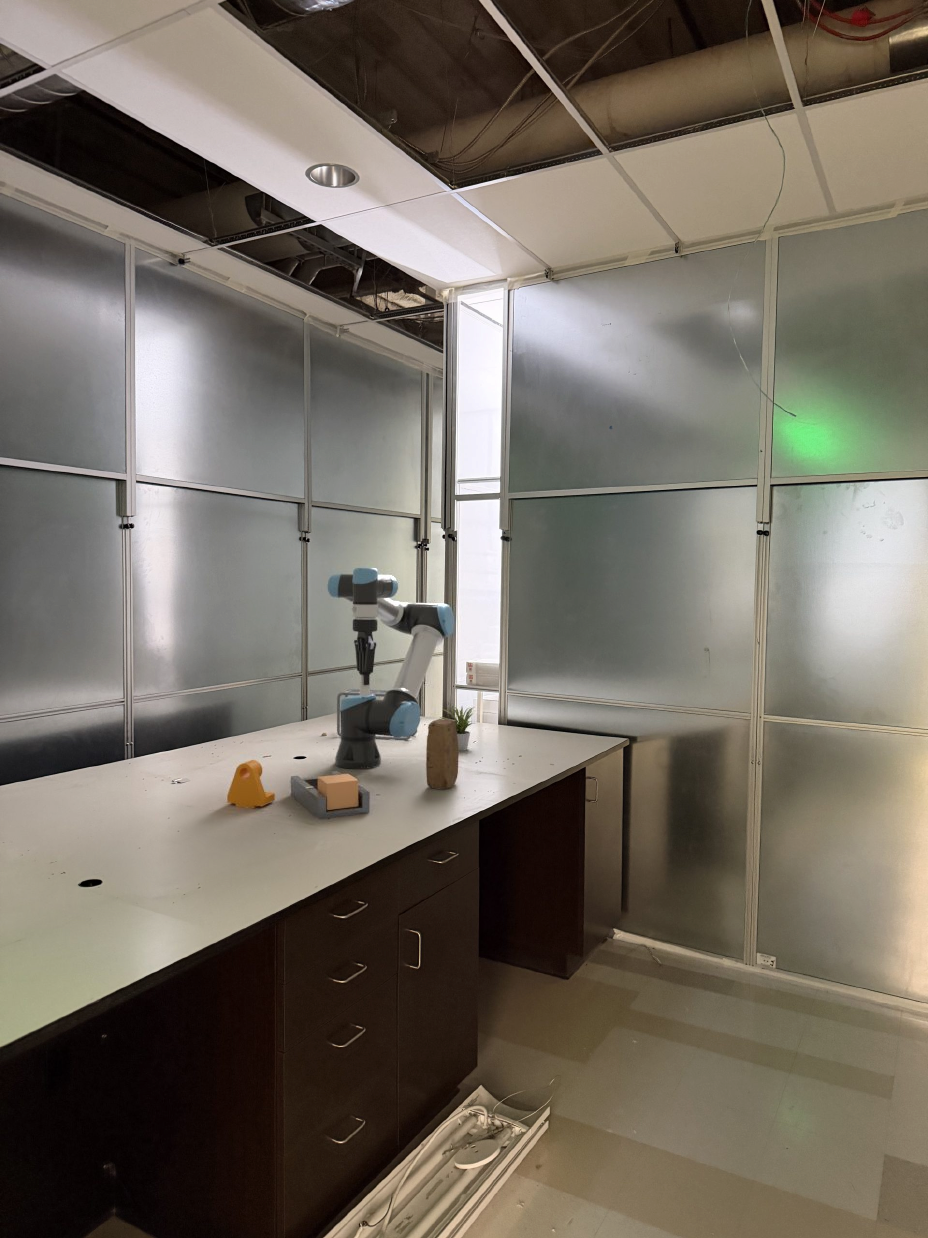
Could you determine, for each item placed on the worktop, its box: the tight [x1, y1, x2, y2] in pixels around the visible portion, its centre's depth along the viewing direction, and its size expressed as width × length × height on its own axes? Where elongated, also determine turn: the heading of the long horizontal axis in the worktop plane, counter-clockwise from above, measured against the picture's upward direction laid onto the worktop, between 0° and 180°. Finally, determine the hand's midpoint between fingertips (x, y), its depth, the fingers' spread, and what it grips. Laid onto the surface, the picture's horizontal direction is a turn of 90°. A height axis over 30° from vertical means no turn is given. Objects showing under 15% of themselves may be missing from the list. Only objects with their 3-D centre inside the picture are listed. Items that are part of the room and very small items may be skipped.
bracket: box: [226, 759, 276, 809], centre depth 225 cm, size 11×7×12 cm, turn 73°
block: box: [425, 718, 459, 790], centre depth 246 cm, size 11×8×20 cm
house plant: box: [439, 705, 477, 752], centre depth 301 cm, size 14×14×16 cm
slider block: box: [317, 773, 359, 810], centre depth 219 cm, size 8×9×7 cm
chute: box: [290, 771, 371, 820], centre depth 226 cm, size 26×14×6 cm, turn 28°
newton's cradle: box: [336, 688, 419, 741], centre depth 323 cm, size 30×10×18 cm, turn 79°
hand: (364, 695), depth 251 cm, fingers closed
